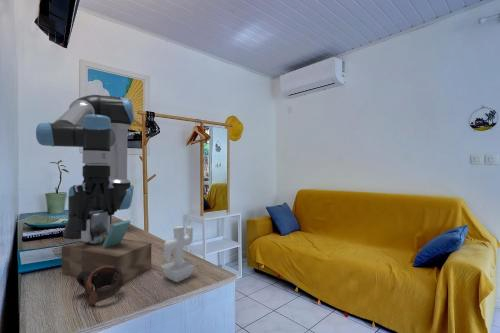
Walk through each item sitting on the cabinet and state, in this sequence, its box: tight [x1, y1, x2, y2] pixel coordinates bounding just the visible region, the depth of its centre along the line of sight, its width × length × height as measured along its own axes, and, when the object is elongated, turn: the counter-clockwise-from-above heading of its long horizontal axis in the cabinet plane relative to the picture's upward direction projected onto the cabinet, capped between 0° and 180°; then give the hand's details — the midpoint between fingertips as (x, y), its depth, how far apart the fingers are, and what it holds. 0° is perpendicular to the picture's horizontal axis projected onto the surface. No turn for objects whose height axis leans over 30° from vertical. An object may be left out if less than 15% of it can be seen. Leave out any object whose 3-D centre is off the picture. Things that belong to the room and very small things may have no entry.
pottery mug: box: [76, 266, 126, 306], centre depth 64 cm, size 12×10×8 cm
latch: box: [102, 219, 132, 248], centre depth 78 cm, size 6×8×1 cm
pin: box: [87, 210, 108, 246], centre depth 81 cm, size 6×6×13 cm
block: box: [61, 235, 152, 283], centre depth 79 cm, size 13×22×8 cm, turn 70°
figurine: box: [160, 225, 197, 283], centre depth 75 cm, size 7×9×15 cm
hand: (96, 237), depth 81 cm, fingers closed on pin, 6 cm apart
